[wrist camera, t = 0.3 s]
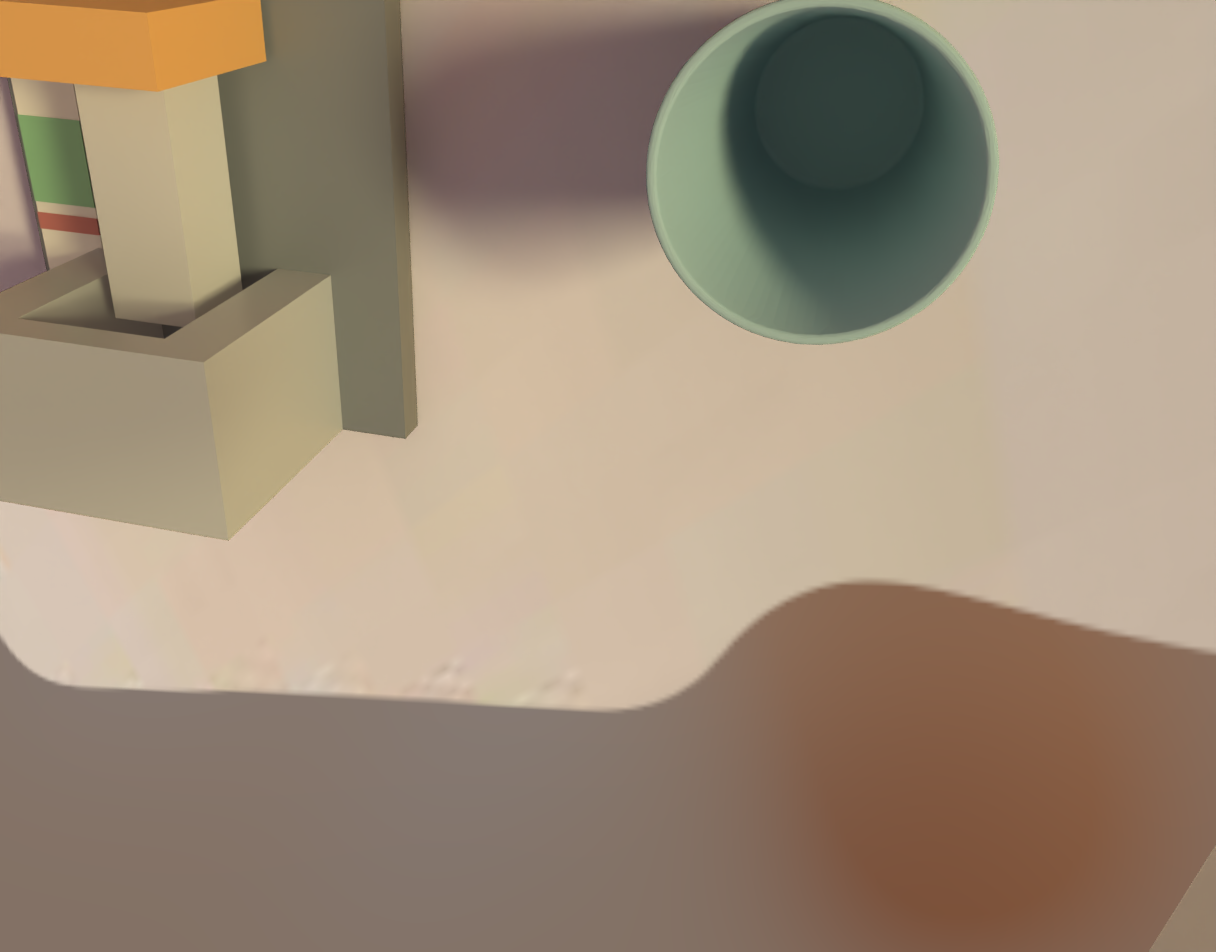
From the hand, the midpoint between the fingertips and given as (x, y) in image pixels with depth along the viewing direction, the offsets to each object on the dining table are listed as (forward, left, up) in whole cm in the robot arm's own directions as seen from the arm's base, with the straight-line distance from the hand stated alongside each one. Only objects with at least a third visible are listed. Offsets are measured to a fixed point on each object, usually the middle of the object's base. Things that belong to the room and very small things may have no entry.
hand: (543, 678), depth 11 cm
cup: (-1, +1, -27) cm, 27 cm away
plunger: (+2, -22, -25) cm, 33 cm away
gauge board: (+2, -20, -27) cm, 33 cm away
